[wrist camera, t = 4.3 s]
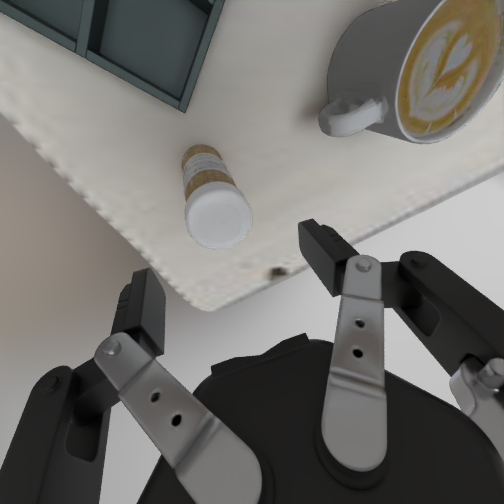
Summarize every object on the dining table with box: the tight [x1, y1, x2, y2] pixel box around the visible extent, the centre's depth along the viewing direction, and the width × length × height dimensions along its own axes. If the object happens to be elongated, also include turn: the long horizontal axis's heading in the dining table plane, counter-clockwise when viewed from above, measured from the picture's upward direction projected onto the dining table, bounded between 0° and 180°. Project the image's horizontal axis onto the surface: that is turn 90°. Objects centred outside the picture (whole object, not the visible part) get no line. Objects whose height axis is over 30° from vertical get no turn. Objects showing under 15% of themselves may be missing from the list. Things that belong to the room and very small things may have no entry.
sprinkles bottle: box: [182, 145, 252, 249], centre depth 21 cm, size 5×5×13 cm
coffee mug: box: [318, 0, 504, 144], centre depth 22 cm, size 13×10×10 cm
